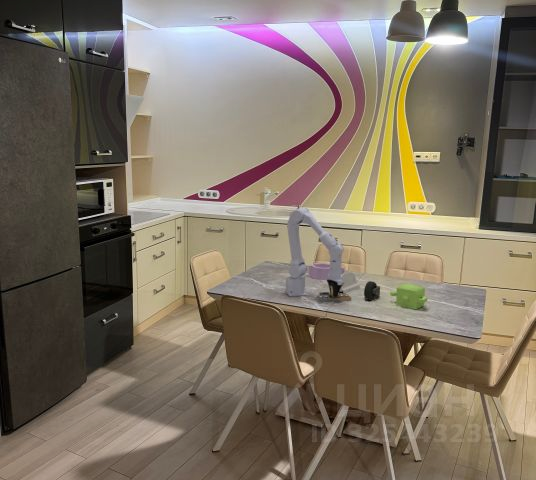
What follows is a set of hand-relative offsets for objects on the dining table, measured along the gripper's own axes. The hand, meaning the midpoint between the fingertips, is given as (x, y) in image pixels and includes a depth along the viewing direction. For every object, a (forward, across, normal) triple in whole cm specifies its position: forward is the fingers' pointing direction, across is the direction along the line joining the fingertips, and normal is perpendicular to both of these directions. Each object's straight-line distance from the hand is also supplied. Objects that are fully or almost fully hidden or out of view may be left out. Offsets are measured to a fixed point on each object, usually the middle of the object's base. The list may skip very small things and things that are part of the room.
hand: (334, 295), depth 245 cm
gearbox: (+3, -14, -32) cm, 35 cm away
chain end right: (+2, 0, -3) cm, 4 cm away
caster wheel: (+3, 0, -21) cm, 21 cm away
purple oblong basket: (+3, +40, -11) cm, 41 cm away
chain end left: (+2, 0, +3) cm, 4 cm away
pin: (+2, 0, 0) cm, 2 cm away
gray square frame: (+2, +6, +2) cm, 7 cm away
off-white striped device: (+3, +16, -13) cm, 21 cm away
